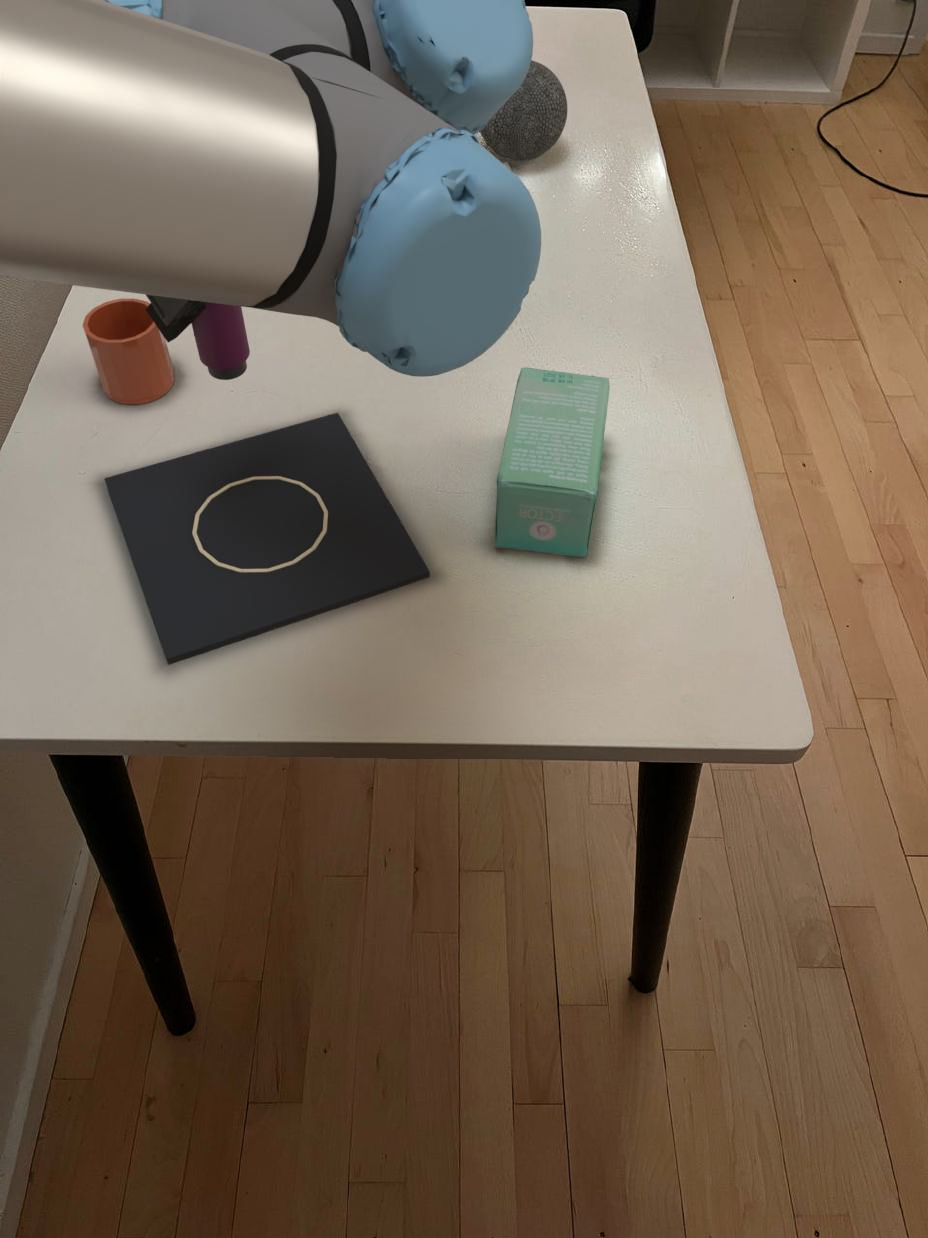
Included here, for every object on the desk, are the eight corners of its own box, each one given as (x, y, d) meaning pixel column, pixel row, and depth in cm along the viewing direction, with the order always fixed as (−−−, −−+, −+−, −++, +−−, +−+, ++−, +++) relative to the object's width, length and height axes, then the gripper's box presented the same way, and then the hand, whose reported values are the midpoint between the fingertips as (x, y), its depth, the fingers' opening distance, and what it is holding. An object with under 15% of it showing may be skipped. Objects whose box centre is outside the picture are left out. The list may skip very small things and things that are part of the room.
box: (491, 552, 81) (495, 480, 75) (513, 436, 89) (518, 364, 84) (587, 564, 80) (598, 492, 75) (600, 446, 89) (611, 374, 83)
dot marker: (210, 388, 76) (180, 258, 68) (197, 360, 78) (166, 230, 70) (258, 375, 77) (234, 245, 69) (244, 348, 79) (219, 219, 71)
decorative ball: (565, 178, 116) (572, 85, 109) (474, 176, 116) (475, 83, 109) (562, 134, 123) (569, 43, 115) (476, 133, 123) (477, 42, 115)
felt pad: (168, 664, 74) (166, 658, 74) (105, 483, 86) (103, 477, 85) (430, 576, 79) (430, 570, 79) (338, 417, 91) (337, 411, 90)
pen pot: (111, 412, 91) (91, 349, 86) (96, 370, 95) (76, 308, 90) (182, 393, 93) (166, 330, 88) (164, 353, 96) (148, 291, 91)
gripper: (244, 296, 54) (122, 411, 74) (459, 172, 62) (298, 305, 82) (155, 161, 52) (55, 315, 72) (389, 50, 60) (241, 217, 80)
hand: (184, 310), depth 77 cm, fingers closed on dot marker, 4 cm apart
